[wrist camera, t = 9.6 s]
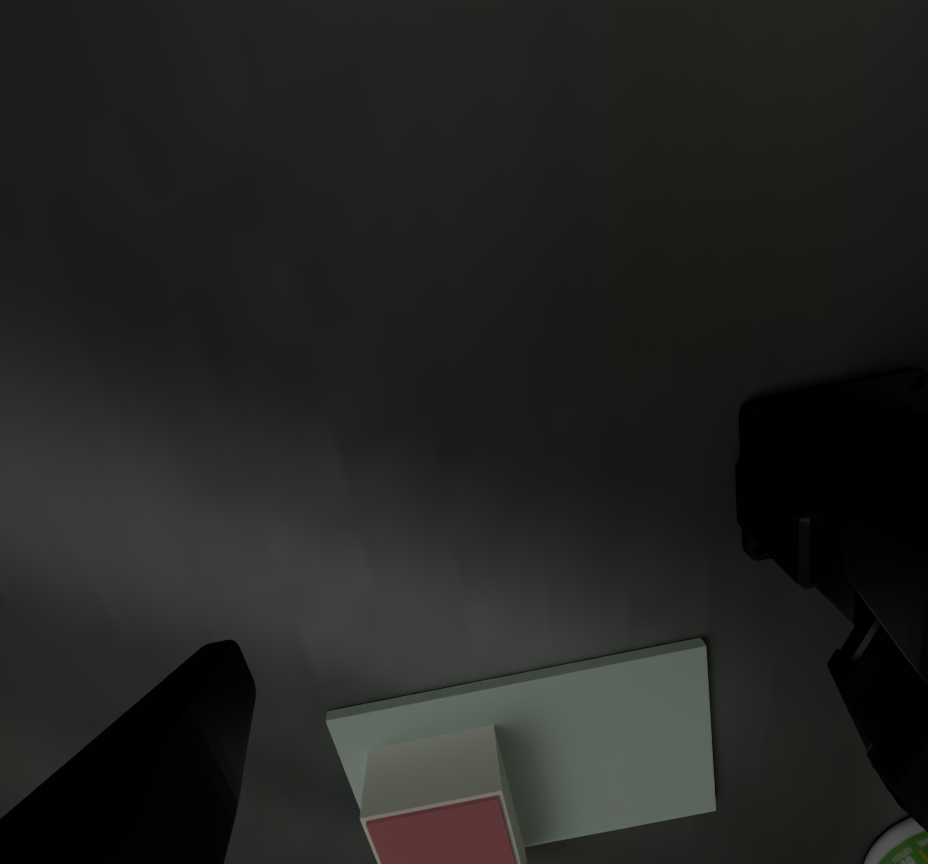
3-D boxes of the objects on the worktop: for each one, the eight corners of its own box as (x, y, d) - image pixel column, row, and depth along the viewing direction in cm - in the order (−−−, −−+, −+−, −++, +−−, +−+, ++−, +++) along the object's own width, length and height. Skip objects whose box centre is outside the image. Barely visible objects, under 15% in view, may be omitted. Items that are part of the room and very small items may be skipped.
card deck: (524, 846, 27) (535, 923, 25) (411, 868, 28) (409, 947, 25) (493, 724, 25) (502, 794, 22) (367, 749, 25) (359, 822, 22)
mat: (701, 637, 24) (706, 646, 24) (711, 800, 28) (716, 810, 27) (327, 711, 24) (325, 720, 24) (385, 862, 28) (385, 873, 28)
